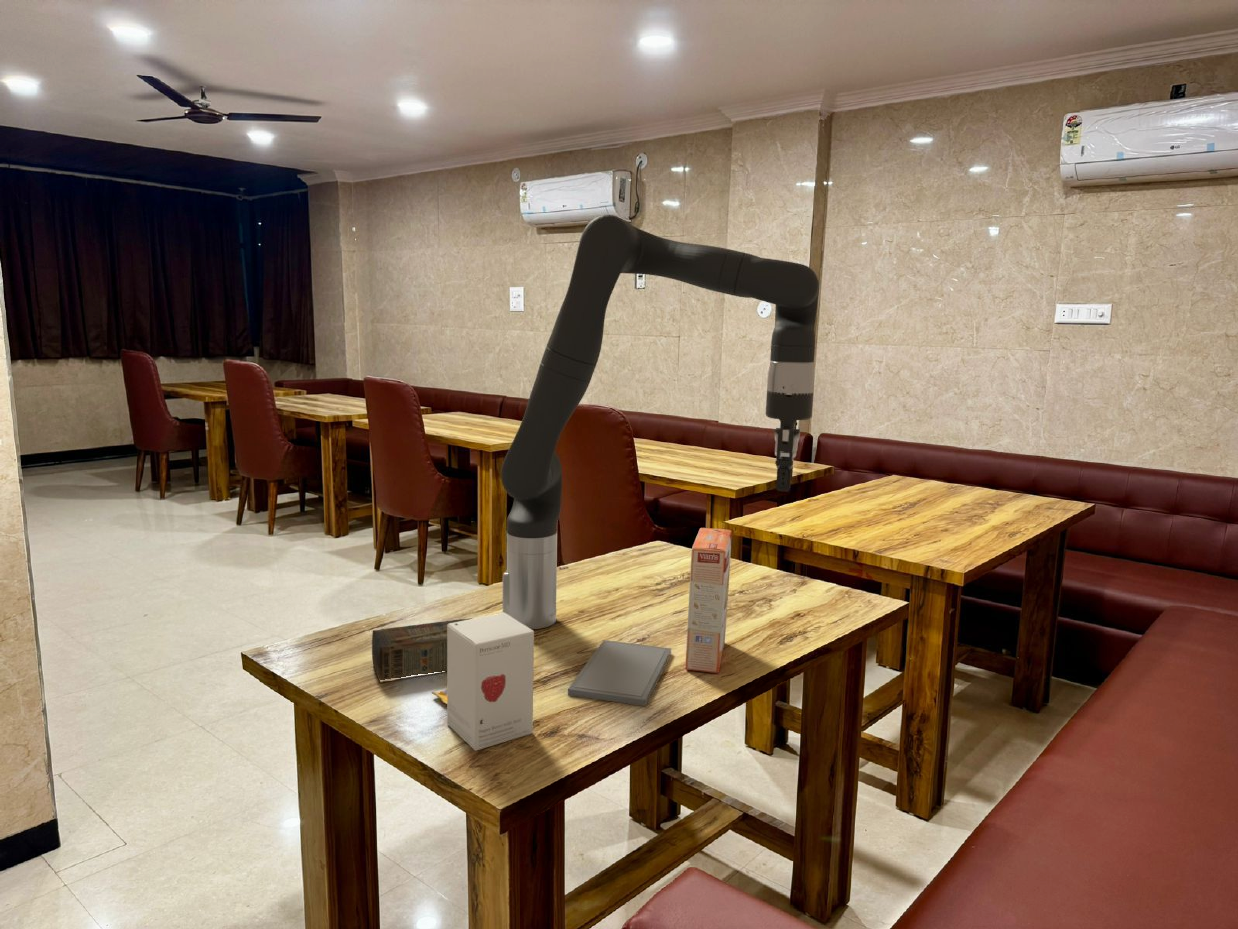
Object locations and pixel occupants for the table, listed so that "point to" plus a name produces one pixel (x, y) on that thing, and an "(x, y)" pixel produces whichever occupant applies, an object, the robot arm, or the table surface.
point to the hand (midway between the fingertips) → (784, 485)
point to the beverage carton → (410, 650)
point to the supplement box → (490, 679)
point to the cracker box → (708, 599)
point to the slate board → (621, 673)
